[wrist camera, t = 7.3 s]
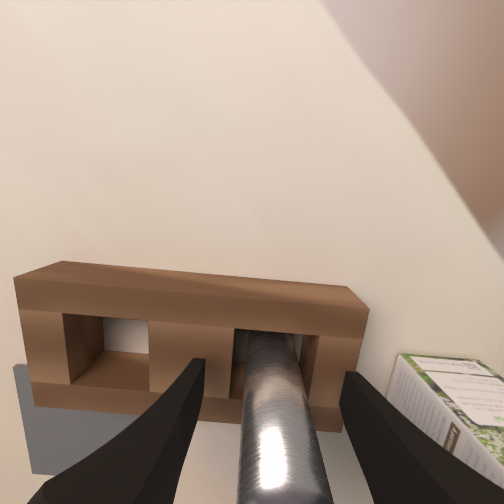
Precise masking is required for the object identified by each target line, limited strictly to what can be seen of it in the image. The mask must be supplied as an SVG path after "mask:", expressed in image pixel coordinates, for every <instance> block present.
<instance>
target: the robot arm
mask: <svg viewBox="0 0 504 504" xmlns="http://www.w3.org/2000/svg"><path fill="white" fill-rule="evenodd" d="M205 364H206V359H203V358H193V359H192V360H191V361H190V362H189V364H188V365H187V366H186V368H185V369H184V370H183V371H182V373H181V374H180V375H179V376H178V377H177V379H176V380H175V381H174V382H173V383H172V384H171V385H170V386H169V388H168V389H167V390H166V391H165V392H164V393H163V394H162V395H161V396H160V397H159V398H158V399H157V400H156V401H155V402H154V403H153V404H152V405H151V406H150V407H149V408H148V409H147V410H146V411H145V412H144V413H143V414H141V415H140V416H139V417H138V418H137V419H136V420H135V421H133V422H132V423H131V424H130V425H129V426H127V427H126V428H125V429H124V430H122V431H121V432H120V433H119V434H117V435H116V436H115V437H114V438H112V439H111V440H110V441H108V442H107V443H105V444H104V445H103V446H101V447H100V448H98V449H97V450H95V451H94V452H93V453H91V454H90V455H88V456H87V457H85V458H84V459H82V460H81V461H79V462H78V463H76V464H74V465H73V466H71V467H70V468H68V469H66V470H65V471H63V472H61V473H60V474H58V475H56V476H55V477H53V478H51V479H50V480H48V481H46V482H45V483H44V484H43V485H42V486H41V488H40V489H39V490H38V491H37V492H36V493H35V494H34V496H33V497H32V498H31V499H30V500H29V502H28V503H27V504H173V501H174V497H175V493H176V489H177V485H178V481H179V477H180V474H181V470H182V467H183V463H184V460H185V457H186V454H187V451H188V448H189V445H190V442H191V439H192V436H193V432H194V429H195V426H196V423H197V420H198V417H199V413H200V409H201V404H202V400H203V395H204V384H205ZM339 407H340V410H341V414H342V418H343V421H344V425H345V428H346V430H347V433H348V436H349V438H350V441H351V443H352V446H353V448H354V451H355V453H356V456H357V458H358V461H359V463H360V466H361V468H362V471H363V473H364V476H365V478H366V481H367V483H368V486H369V489H370V492H371V495H372V497H373V501H374V504H504V489H503V488H501V487H500V486H498V485H497V484H495V483H493V482H492V481H490V480H489V479H487V478H486V477H484V476H483V475H481V474H480V473H478V472H477V471H475V470H474V469H472V468H471V467H469V466H468V465H467V464H465V463H464V462H462V461H461V460H459V459H458V458H457V457H455V456H454V455H453V454H451V453H450V452H448V451H447V450H446V449H444V448H443V447H442V446H441V445H439V444H438V443H437V442H435V441H434V440H433V439H432V438H430V437H429V436H428V435H426V434H425V433H424V432H423V431H422V430H420V429H419V428H418V427H417V426H416V425H414V424H413V423H412V422H411V421H410V420H409V419H408V418H406V417H405V416H404V415H403V414H402V413H401V412H400V411H399V410H397V409H396V408H395V407H394V406H393V405H392V404H391V403H390V402H389V401H388V400H387V399H386V398H385V397H384V396H382V395H381V394H380V393H379V392H378V391H377V390H376V389H375V388H374V387H373V386H372V385H371V384H370V383H369V382H368V381H367V380H366V379H365V378H364V377H363V376H362V375H361V374H359V373H358V372H352V371H346V373H345V377H344V382H343V386H342V391H341V396H340V400H339Z"/></svg>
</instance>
